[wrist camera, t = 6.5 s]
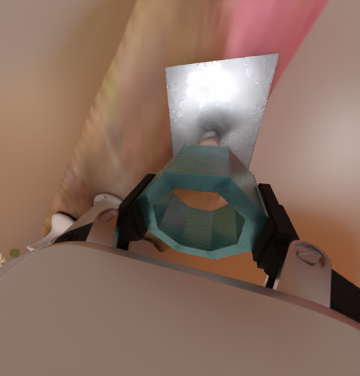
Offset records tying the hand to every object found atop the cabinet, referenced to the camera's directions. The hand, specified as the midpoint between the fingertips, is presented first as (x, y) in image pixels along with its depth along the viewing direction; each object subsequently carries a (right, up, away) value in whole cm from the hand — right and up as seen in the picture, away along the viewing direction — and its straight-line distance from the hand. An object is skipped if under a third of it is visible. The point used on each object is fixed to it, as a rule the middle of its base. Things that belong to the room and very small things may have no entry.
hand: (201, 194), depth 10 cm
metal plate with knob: (+4, +9, +13) cm, 16 cm away
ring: (0, +1, +1) cm, 1 cm away
